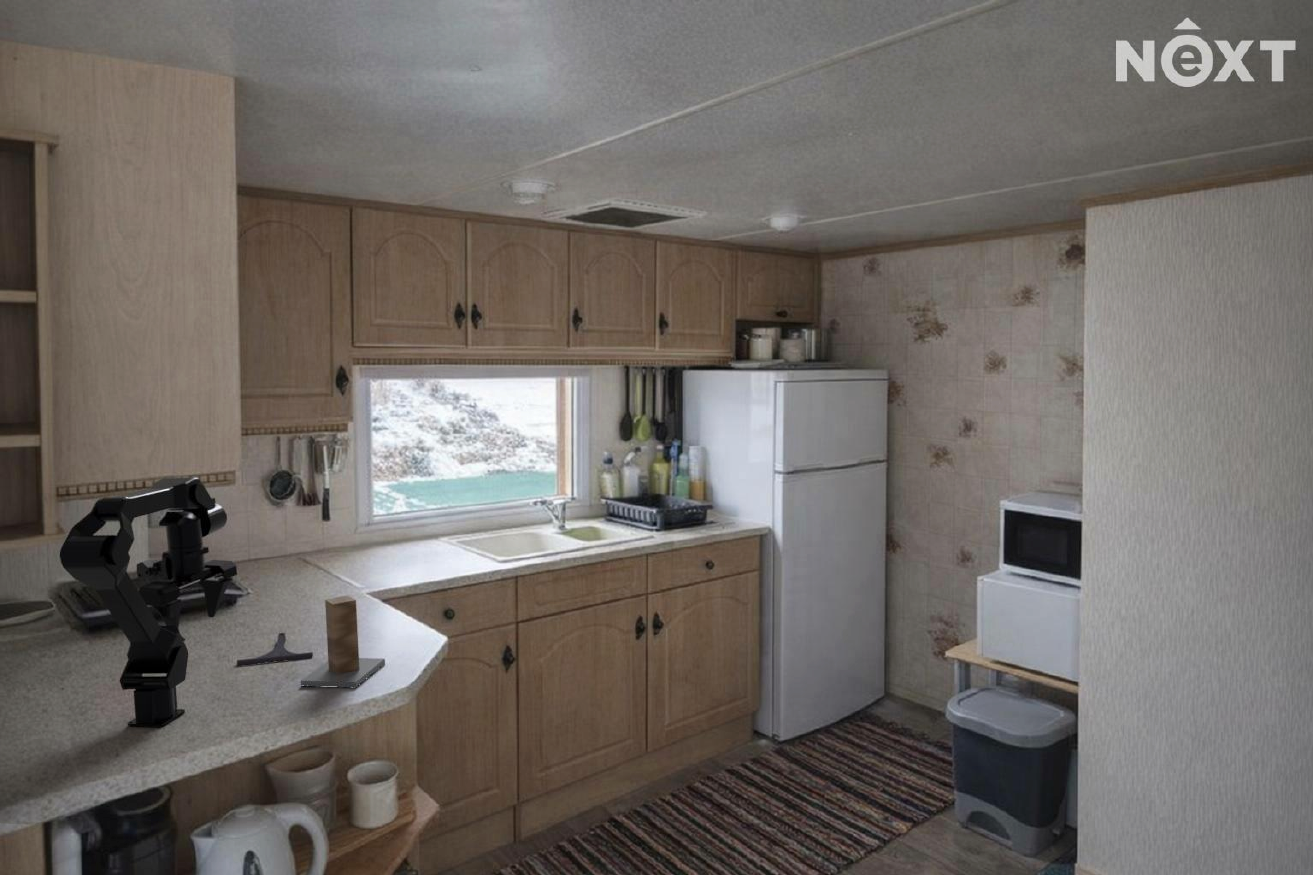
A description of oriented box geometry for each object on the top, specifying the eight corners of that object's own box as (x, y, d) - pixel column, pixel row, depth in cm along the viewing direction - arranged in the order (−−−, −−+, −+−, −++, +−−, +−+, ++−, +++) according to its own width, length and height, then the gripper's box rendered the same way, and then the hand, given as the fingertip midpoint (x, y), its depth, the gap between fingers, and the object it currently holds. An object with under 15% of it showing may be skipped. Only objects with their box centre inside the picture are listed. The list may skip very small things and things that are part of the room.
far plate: (355, 688, 165) (355, 682, 165) (301, 686, 166) (300, 680, 166) (385, 664, 178) (384, 658, 177) (333, 663, 179) (333, 657, 179)
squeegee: (317, 639, 196) (316, 627, 196) (312, 661, 182) (311, 648, 182) (247, 647, 192) (246, 635, 192) (237, 670, 178) (236, 656, 178)
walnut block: (336, 675, 168) (332, 604, 167) (328, 668, 172) (325, 599, 171) (359, 669, 171) (356, 599, 170) (351, 663, 175) (348, 595, 174)
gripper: (187, 530, 172) (195, 606, 174) (107, 555, 154) (116, 640, 157) (235, 532, 169) (242, 609, 172) (158, 559, 152) (167, 644, 154)
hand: (193, 625), depth 163 cm, fingers open, 9 cm apart
